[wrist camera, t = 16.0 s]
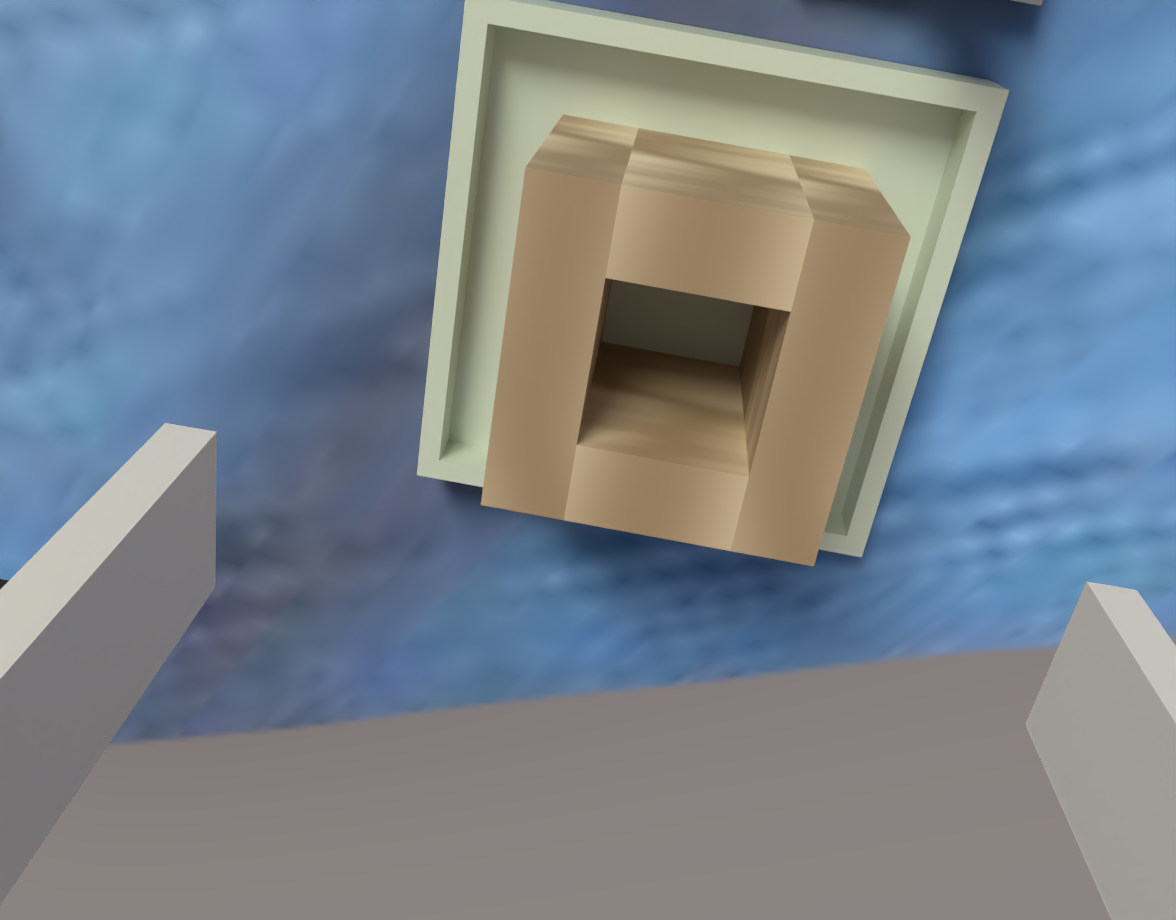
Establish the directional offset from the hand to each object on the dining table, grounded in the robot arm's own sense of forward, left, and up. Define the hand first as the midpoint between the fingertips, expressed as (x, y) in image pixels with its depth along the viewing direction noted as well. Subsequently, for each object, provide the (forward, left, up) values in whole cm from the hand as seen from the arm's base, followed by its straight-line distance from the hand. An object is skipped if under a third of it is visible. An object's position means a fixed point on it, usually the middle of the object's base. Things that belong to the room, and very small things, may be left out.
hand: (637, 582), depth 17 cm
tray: (0, 0, -16) cm, 16 cm away
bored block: (0, 0, -16) cm, 16 cm away
